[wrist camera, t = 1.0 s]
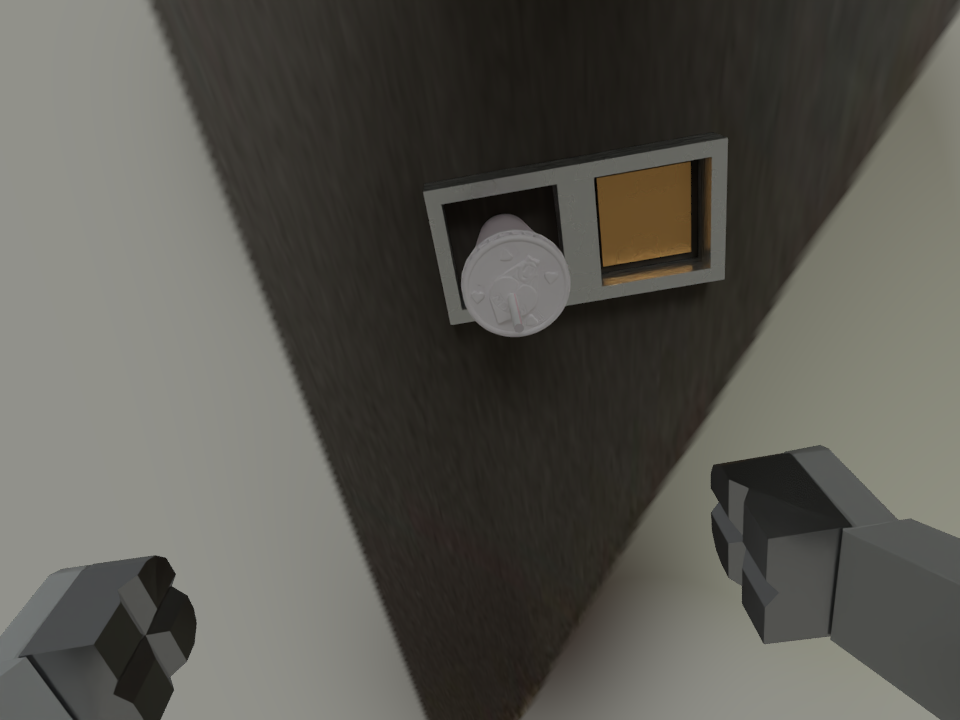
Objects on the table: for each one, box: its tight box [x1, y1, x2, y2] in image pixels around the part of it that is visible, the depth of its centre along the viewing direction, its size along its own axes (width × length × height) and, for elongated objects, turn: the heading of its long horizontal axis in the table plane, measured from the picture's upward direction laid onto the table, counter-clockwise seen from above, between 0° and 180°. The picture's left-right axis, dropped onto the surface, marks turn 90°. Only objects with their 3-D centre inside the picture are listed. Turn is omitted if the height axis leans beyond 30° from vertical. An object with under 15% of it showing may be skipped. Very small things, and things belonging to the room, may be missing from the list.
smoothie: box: [461, 214, 571, 337], centre depth 38 cm, size 6×6×14 cm
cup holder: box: [423, 132, 728, 325], centre depth 42 cm, size 10×20×2 cm, turn 100°
